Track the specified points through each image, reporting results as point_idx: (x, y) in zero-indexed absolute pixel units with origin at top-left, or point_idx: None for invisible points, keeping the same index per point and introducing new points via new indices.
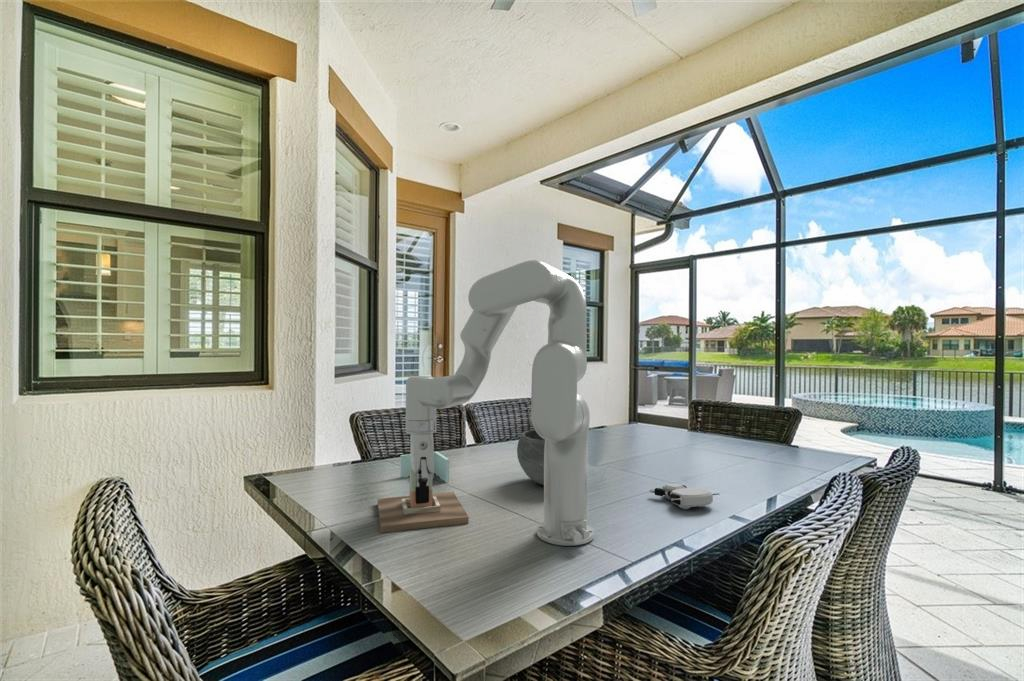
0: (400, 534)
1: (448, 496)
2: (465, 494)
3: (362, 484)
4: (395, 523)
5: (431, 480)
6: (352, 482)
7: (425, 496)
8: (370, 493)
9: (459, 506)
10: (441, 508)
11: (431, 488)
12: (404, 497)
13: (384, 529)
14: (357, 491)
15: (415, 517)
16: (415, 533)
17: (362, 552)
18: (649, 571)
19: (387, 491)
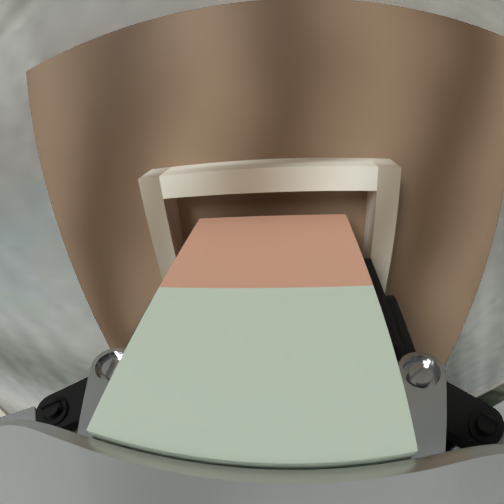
0: (472, 324)
1: (88, 86)
2: (21, 20)
3: (7, 361)
4: (441, 359)
5: (394, 370)
6: (6, 372)
7: (399, 311)
8: (52, 365)
9: (325, 15)
10: (338, 142)
11: (374, 301)
12: (108, 317)
13: None
14: (49, 382)
15: (423, 297)
16: (493, 281)
17: (499, 382)
18: None
19: (24, 326)
